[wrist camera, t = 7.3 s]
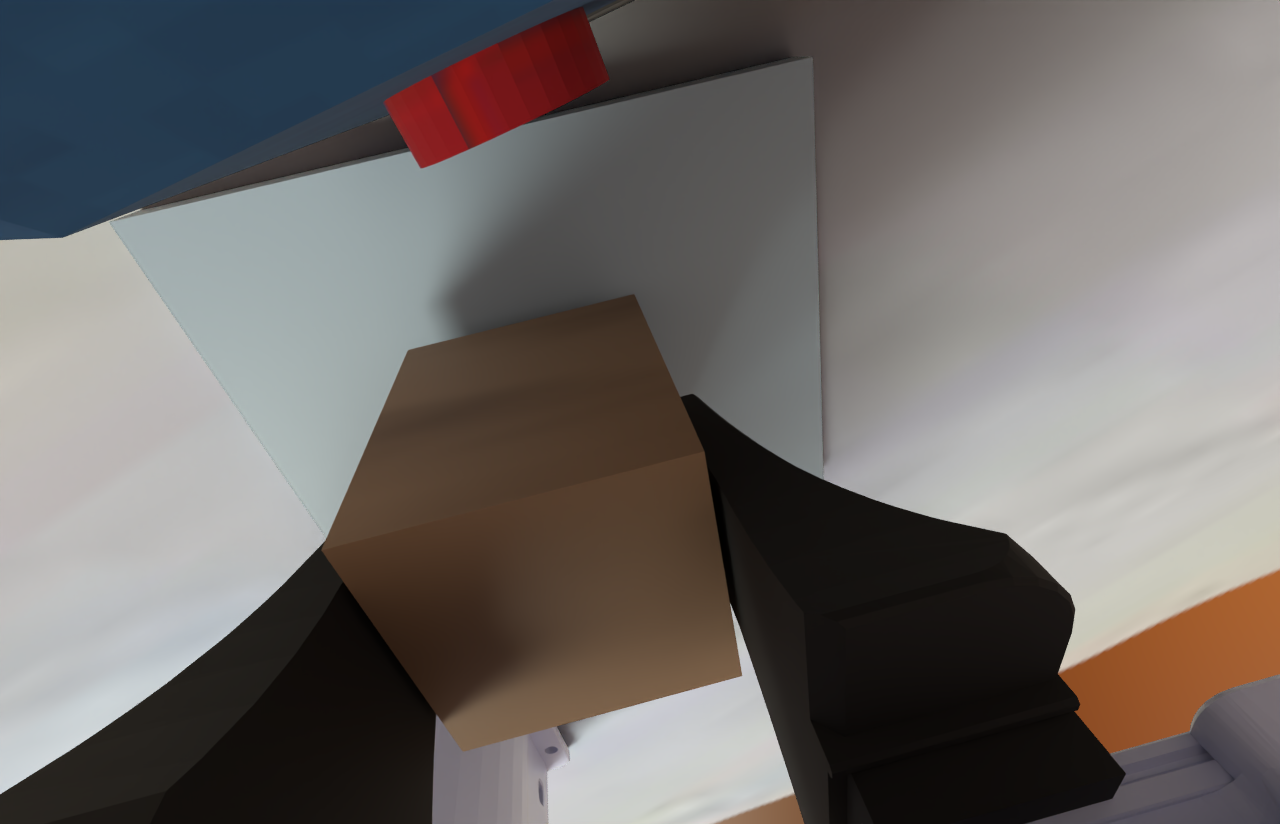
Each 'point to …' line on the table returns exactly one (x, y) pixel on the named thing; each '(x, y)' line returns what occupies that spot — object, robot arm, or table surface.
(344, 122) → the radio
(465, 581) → the walnut block
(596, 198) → the board
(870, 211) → the table surface
